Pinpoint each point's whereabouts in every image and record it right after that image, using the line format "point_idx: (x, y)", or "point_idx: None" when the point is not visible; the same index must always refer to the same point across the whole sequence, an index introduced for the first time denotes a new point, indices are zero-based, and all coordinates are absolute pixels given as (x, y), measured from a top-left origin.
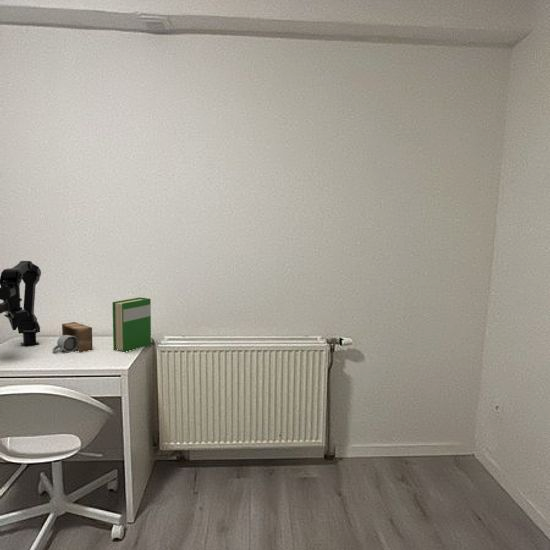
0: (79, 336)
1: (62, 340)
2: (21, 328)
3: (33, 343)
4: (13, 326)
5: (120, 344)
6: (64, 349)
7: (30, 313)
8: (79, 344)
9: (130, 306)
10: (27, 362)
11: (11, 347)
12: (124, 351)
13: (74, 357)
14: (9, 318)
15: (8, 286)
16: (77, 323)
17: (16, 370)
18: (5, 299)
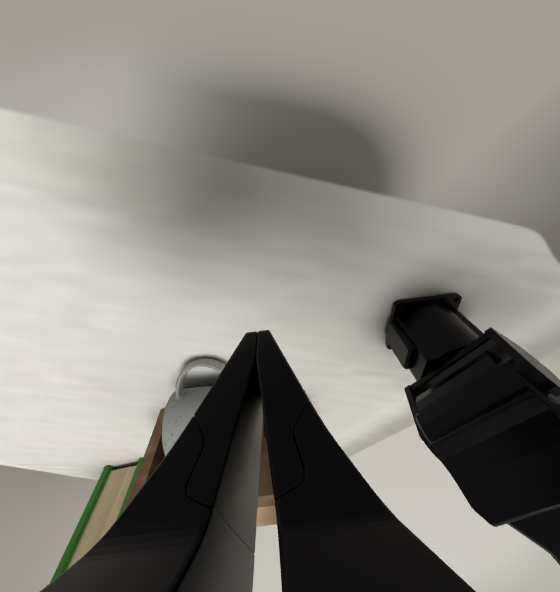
0: (135, 480)
1: (179, 428)
2: (477, 368)
3: (387, 334)
4: (225, 376)
5: (114, 489)
6: (172, 394)
7: (545, 540)
8: (152, 440)
9: None
10: (72, 249)
11: (445, 247)
12: (104, 470)
13: (97, 390)
14: (155, 587)
15: None
16: (268, 523)
17: None
18: None
